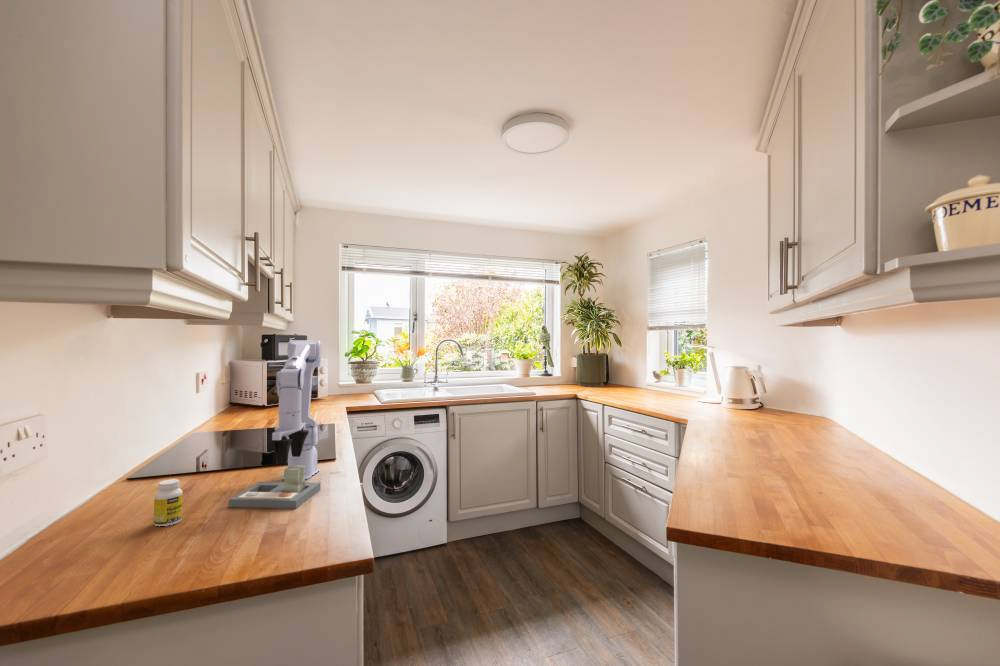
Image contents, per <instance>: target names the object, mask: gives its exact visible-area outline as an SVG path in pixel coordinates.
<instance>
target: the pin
mask: <svg viewBox="0 0 1000 666" xmlns="http://www.w3.org/2000/svg"><path fill="white" fill-rule="evenodd" d="M283 477H284V479H283V482H284V492H291V493H301V492H302V491H304V490H305V483H306V480H305V466H298V465H291V466H289V467H288V466H287V467H286V468H284V469H283Z"/></svg>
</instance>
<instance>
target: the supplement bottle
mask: <svg viewBox="0 0 1000 666" xmlns="http://www.w3.org/2000/svg"><path fill="white" fill-rule="evenodd" d="M158 490H159V491H157V492H156V493H155V494H154V498H153V499H154V503H153V525H154V526H155V527H157V526H159V527H158V528H161V527H160V526H165V527H170V526H173V524H174V525H176V524H179V523H180V522H181V521H182V519H183V499H184V498H183V495H184V492H183V489H181V488H180V479H177V478H173V479H172V478H171V479H165V480H162V481H160V482H158ZM169 525H170V526H169Z"/></svg>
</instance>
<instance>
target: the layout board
mask: <svg viewBox="0 0 1000 666" xmlns="http://www.w3.org/2000/svg"><path fill="white" fill-rule="evenodd" d="M321 487H322V485H321V482H305V490H304V491H302V492H301V493H291V492H284V481H258V482H257V483H256V484H253V485H252V486H249V488H246V489H245V490H242V491H241V492H239V493H237V494H236V495H234V496H232V497H230V498H229V499H228V508H253V509H254V508H255V509H256V508H257V509H259V508H262V509H263V508H264V509H266V508H267V509H268V508H269V509H297V508H299V507H300V506H301V505H302V503H303V504H304V503H305V502H306V501H309V499H310V498H312V497H313V496H314V495H316V494H317V493H318V492H319V491H321ZM315 493H316V494H315ZM298 506H299V507H298Z"/></svg>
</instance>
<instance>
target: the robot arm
mask: <svg viewBox="0 0 1000 666" xmlns="http://www.w3.org/2000/svg"><path fill="white" fill-rule="evenodd" d="M286 352H287V357H288V358H287V360H286V362H285V363H284V366H283V368H281V369H280V371H279V370H278V371H277V373H276V377H275V378H276V380H275V381H276V382H275V383H276V389H277V390H276V392H277V397H278V426H276V427H274V432H272V434H271V435H272V436H271V437H272V438H269V439H268V441H269V442H268V443H269V444H270V446H271V447H272V449H273V451H274V454H275V457H276V461H277V464H278V465H280V466H281V465H287V468H288V467H289V466H291V465H298V466H305V479H306V480H308V479H310V478H311V477H313V476H314V475H315V473H316V474H317V473H319V472H320V471H321V469H319V468H318V450H317V448H316V445H318V441H319V425H318V424H319V423H318V421H317V420H315V419H314V418H312V417H310V415H311V401H312V384H313V375H314V372H315V369H317V368H318V367H320V365H321V361H322V360H321V358H322V342H321V341H320V339H315V340H313V339H310V340H307V339H306V340H303V339H302V340H301V339H300V340H297V339H290V340H289V341H288V342H287V351H286ZM318 471H319V472H318ZM312 475H313V476H312ZM281 479H282V480H284V476H282V478H281Z"/></svg>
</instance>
